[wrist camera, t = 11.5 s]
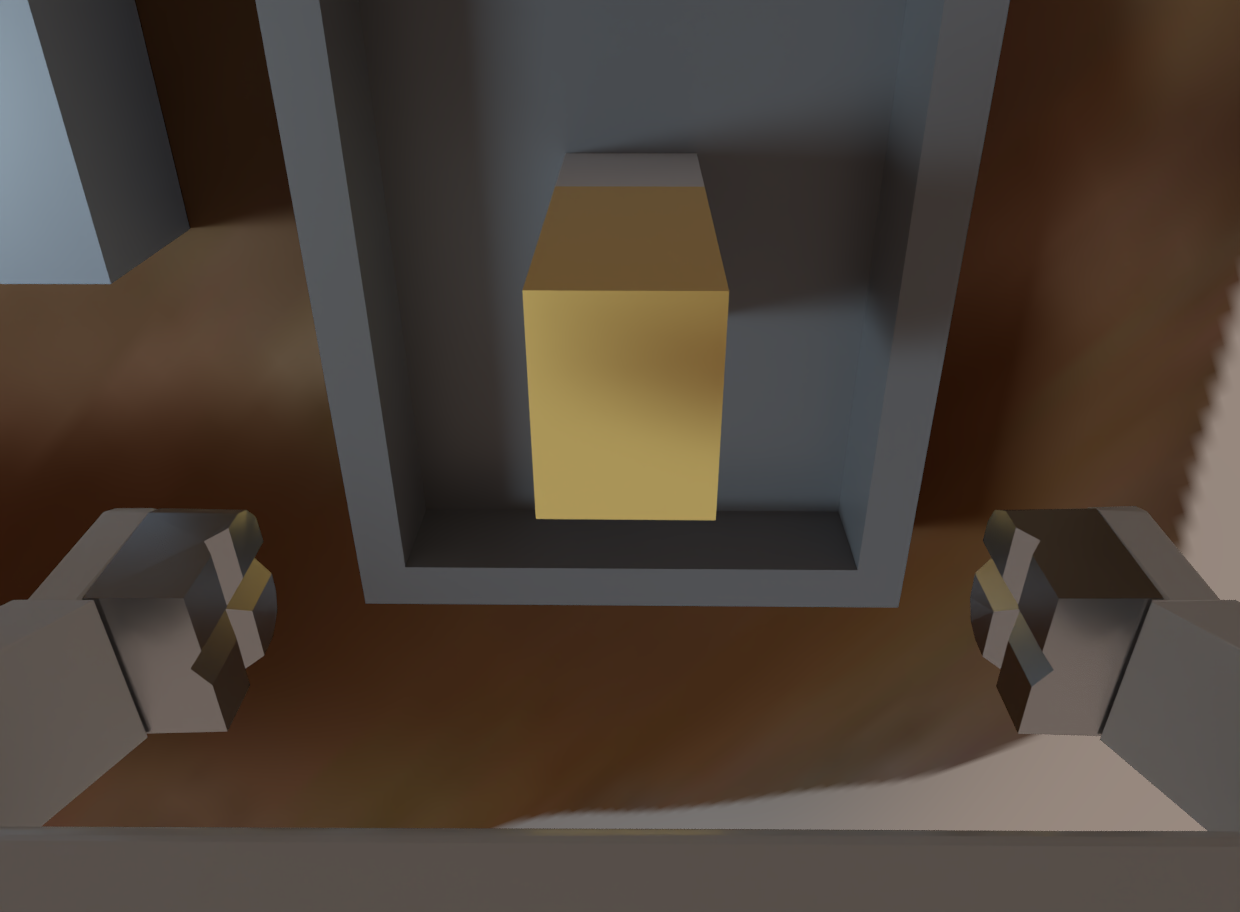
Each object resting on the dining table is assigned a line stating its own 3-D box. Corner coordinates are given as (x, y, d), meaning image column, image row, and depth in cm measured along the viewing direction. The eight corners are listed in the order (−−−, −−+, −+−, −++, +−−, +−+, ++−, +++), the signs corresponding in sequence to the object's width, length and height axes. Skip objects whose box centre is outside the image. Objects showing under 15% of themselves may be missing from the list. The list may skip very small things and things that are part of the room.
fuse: (565, 153, 21) (522, 290, 14) (697, 153, 21) (729, 290, 13) (570, 317, 23) (535, 518, 16) (690, 318, 23) (715, 520, 15)
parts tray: (280, -217, 19) (211, -243, 16) (987, -224, 18) (1056, -252, 15) (395, 528, 28) (365, 603, 25) (869, 530, 27) (898, 607, 24)
